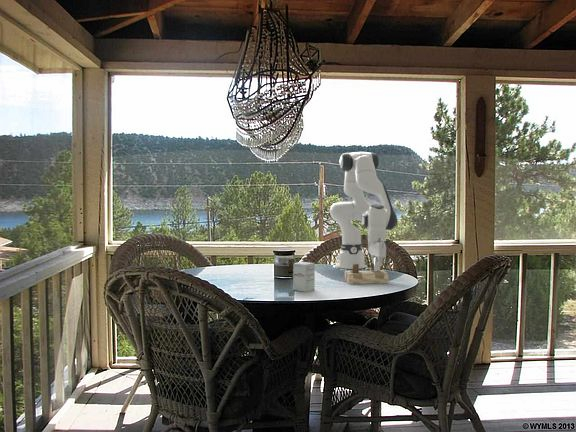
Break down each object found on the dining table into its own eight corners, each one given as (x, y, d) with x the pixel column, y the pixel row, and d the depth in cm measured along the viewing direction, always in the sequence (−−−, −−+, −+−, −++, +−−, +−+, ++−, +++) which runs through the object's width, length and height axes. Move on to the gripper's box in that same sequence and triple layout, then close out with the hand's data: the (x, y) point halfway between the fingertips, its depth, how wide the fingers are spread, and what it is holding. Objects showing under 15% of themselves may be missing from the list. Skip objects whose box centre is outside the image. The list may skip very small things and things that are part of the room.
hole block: (344, 280, 277) (344, 271, 276) (383, 280, 279) (383, 270, 279) (348, 283, 268) (348, 273, 268) (388, 283, 270) (388, 273, 270)
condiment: (385, 276, 290) (386, 254, 289) (373, 278, 285) (374, 255, 284) (376, 275, 296) (376, 253, 295) (364, 276, 291) (364, 254, 290)
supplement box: (292, 290, 251) (292, 263, 251) (302, 288, 257) (302, 261, 256) (305, 292, 246) (305, 264, 246) (315, 290, 252) (315, 262, 252)
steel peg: (373, 281, 275) (373, 257, 275) (379, 281, 276) (379, 257, 275) (374, 282, 272) (374, 258, 272) (380, 282, 273) (380, 258, 272)
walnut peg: (351, 281, 274) (351, 263, 274) (357, 281, 274) (357, 263, 274) (353, 282, 271) (353, 264, 271) (359, 282, 271) (359, 264, 271)
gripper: (389, 239, 263) (389, 267, 264) (377, 235, 283) (377, 262, 284) (376, 239, 262) (376, 268, 263) (365, 235, 283) (365, 262, 283)
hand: (376, 264), depth 274 cm, fingers open, 8 cm apart
